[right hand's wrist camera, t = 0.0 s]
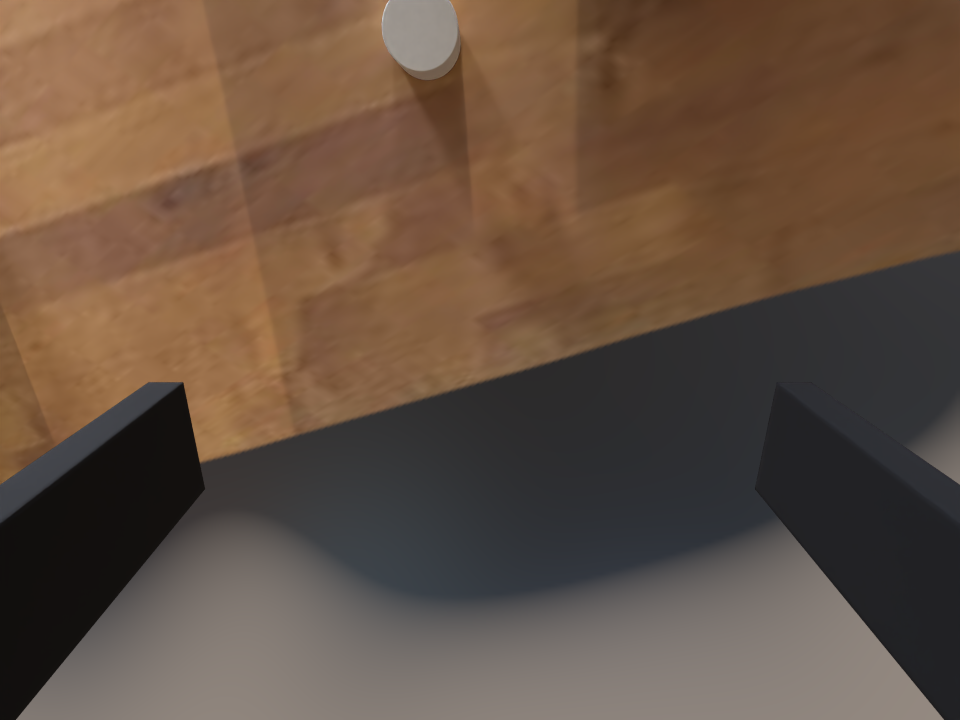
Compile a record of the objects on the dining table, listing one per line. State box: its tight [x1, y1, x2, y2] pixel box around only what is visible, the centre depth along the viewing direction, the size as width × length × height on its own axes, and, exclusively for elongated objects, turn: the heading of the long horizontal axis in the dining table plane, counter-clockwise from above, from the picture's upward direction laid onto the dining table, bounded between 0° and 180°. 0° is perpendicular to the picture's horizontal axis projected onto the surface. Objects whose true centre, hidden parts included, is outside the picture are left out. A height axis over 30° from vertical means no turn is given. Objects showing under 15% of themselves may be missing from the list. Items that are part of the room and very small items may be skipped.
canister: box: [382, 0, 461, 80], centre depth 32 cm, size 4×4×4 cm
